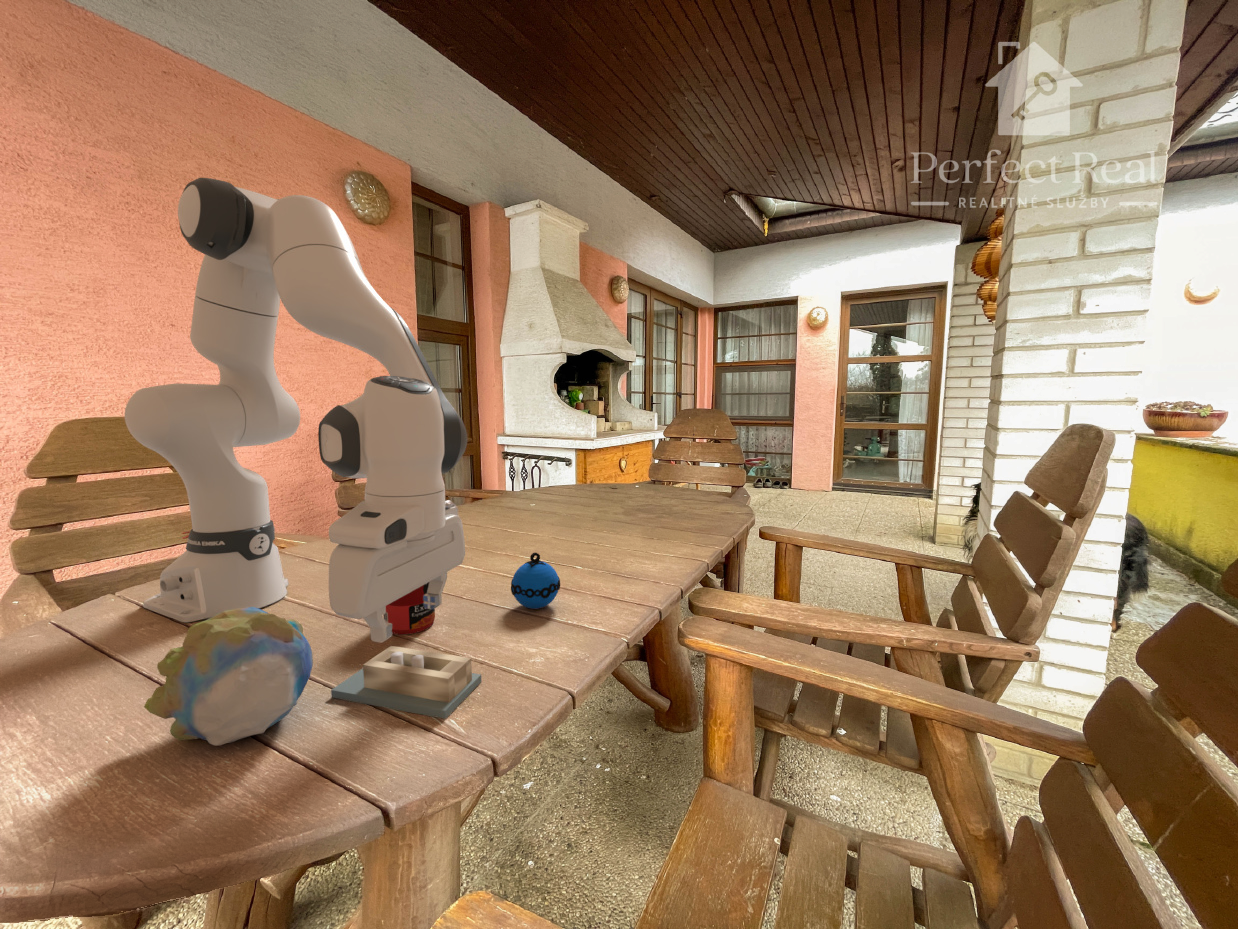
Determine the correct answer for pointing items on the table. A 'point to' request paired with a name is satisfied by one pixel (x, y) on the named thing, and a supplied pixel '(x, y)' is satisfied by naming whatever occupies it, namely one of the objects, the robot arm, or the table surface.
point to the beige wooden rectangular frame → (419, 674)
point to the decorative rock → (233, 676)
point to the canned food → (410, 613)
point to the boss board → (358, 693)
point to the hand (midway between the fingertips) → (409, 622)
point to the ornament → (535, 583)
